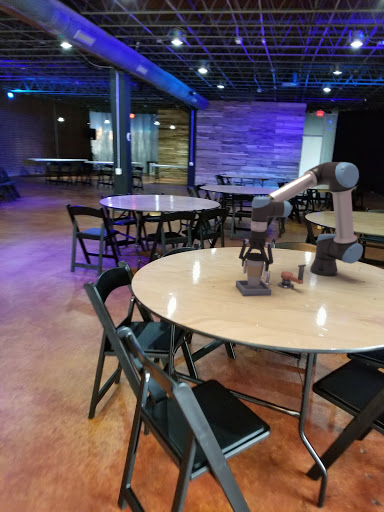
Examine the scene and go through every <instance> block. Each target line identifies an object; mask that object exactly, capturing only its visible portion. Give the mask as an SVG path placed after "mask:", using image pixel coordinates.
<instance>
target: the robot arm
mask: <svg viewBox="0 0 384 512" xmlns="http://www.w3.org/2000/svg"><path fill="white" fill-rule="evenodd" d="M359 173H360V172H359V169H358V167H357V166H356V165H355V164H353V163H351V162H346V161H344V162H343V161H339V162H338V161H337V162H336V161H335V162H334V161H326V162H322V163H319V164H317V165H315V166H313V167H311V168H309V169H308V170H306V171H304V172H303V175H301V176H298V177H297V178H295V179H293V180H292V181H290V182H288V183H286V184H284V185H282V186H281V187H279V188H277V189H275V190H274V191H272V192H270V193H268V194H266V195H265V196H254V197H253V199H252V201H251V218H250V219H251V220H250V230H249V231H250V232H249V238H248V239H247V238H245V239H243V240H242V246H241V250H240V253H239V255H238V259H239V260H241V267H242V275H246V274H247V259H246V256H248V254H249V253H252V251H253V250H258V251H259V253H261V254H262V256H263V259H264V267H263V272H262V279H266V271H270V270H269V268H270V265H272V264H274V257H273V250H272V246H273V243H272V242H267V241H266V240H267V230H268V220H269V218H285V217H288V216H290V215H291V212H292V204H291V203H290V202H289V200H290V199H292V198H294V197H296V196H297V195H299V194H301V193H302V192H304V191H306V190H308V189H311V188H313V189H315V188H316V187H319V186H324V185H325V186H328V191H329V193H331V194H332V202H333V211H334V213H333V214H334V224H335V225H334V226H335V227H334V228H335V233H322V234H318V237H317V240H316V245H315V246H316V248H315V254H314V260H313V261H312V262H311V265H310V268H309V272H311V273H313V274H315V275H318V276H323V275H324V277H334V276H333V275H335V276H337V275H338V267H337V266H338V265H337V261H341V262H342V263H347V264H355V263H356V262H358V261H359V260H360V258H362V255H363V253H364V252H363V251H364V248H363V245H362V244H360V243H359V242H358V236H357V235H355V234H354V233H355V231H354V218H353V217H354V216H353V204H352V202H353V201H352V191H353V190H355V189H354V188H355V185H356V184H357V183H358V181H359V178H360V176H359V175H360V174H359ZM248 244H249V247H248V249H247V245H248ZM265 246H266V249H267V252H266V250H265ZM246 249H247V251H246ZM245 251H246V252H245ZM336 274H337V275H336Z"/></svg>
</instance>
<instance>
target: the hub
mask: <svg viewBox="0 0 384 512" xmlns="http://www.w3.org/2000/svg"><path fill="white" fill-rule="evenodd" d="M291 282H292V281H291V280H286V279H282V278H281V282H278V283H277V286H278V287H279V288H282V289H293V288H294V287H295V284H293V283H291Z"/></svg>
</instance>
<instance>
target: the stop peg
mask: <svg viewBox="0 0 384 512" xmlns="http://www.w3.org/2000/svg"><path fill="white" fill-rule="evenodd" d="M270 278H271V271H270V270H268V271H266V277H265V281H263V282H264V283H265V284H266V285H267V286H268V285H269V286H270V285H271V284H272V282H271V281H270Z"/></svg>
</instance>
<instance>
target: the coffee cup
mask: <svg viewBox="0 0 384 512" xmlns="http://www.w3.org/2000/svg"><path fill="white" fill-rule="evenodd" d="M246 260H247V271H246V275H247V279H246V280H248V285H251V286H259V285H260V280H262V277H263V268H264V264H265V262H264V259H263V256H262V254H261V252H250V253H249V254H248V256H246Z"/></svg>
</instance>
